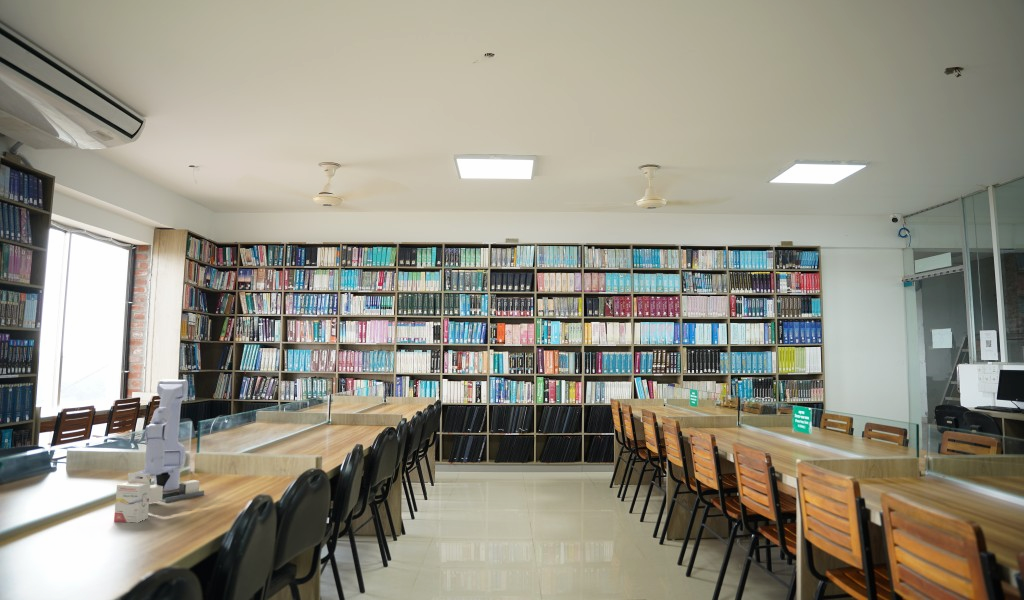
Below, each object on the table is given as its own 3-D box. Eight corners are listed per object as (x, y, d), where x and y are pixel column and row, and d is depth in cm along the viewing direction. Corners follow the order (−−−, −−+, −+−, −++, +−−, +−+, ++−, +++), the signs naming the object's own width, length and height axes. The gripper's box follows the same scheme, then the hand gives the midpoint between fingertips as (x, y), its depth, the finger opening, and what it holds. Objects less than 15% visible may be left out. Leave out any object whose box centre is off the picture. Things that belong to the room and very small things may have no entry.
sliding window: (153, 502, 212) (154, 495, 212) (191, 494, 224) (191, 487, 224) (167, 505, 207) (167, 498, 208) (204, 497, 219) (205, 490, 219)
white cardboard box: (150, 503, 202) (151, 488, 203) (141, 500, 205) (142, 486, 206) (162, 500, 206) (163, 486, 206) (153, 498, 209) (154, 484, 209)
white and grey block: (198, 494, 220) (199, 481, 220) (183, 497, 215) (184, 483, 215) (192, 493, 222) (193, 479, 222) (177, 496, 217) (178, 482, 217)
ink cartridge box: (112, 522, 187) (116, 475, 189) (124, 517, 192) (127, 472, 193) (137, 523, 186) (140, 476, 188) (148, 518, 191) (151, 473, 193)
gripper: (139, 462, 198) (136, 502, 197) (181, 455, 211) (179, 493, 210) (128, 459, 202) (125, 499, 201) (171, 453, 215) (168, 491, 213)
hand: (152, 496), depth 206 cm, fingers closed on white cardboard box, 4 cm apart
